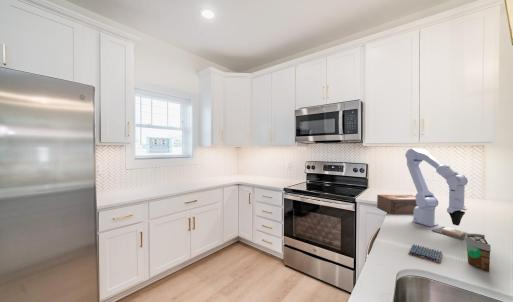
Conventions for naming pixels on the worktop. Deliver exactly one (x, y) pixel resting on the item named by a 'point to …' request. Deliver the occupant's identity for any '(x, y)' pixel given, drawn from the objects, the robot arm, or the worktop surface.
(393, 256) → the worktop surface
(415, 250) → the spiky blue-grey pad
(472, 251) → the food container
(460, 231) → the tile
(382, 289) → the worktop surface
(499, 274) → the worktop surface
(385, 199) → the tissue box cover
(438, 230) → the mat
